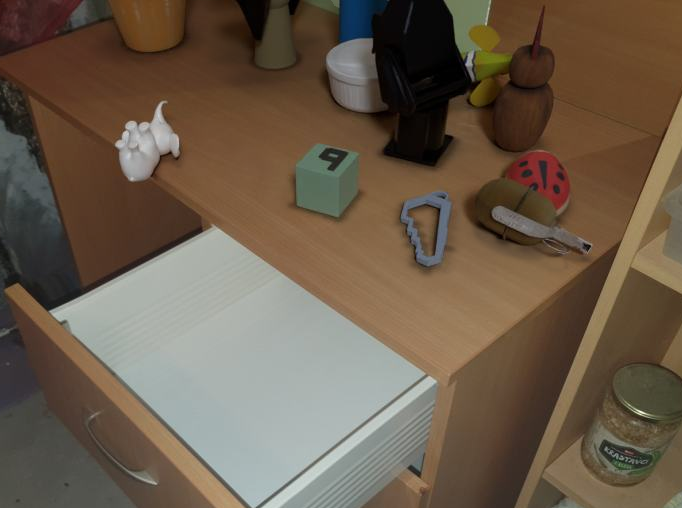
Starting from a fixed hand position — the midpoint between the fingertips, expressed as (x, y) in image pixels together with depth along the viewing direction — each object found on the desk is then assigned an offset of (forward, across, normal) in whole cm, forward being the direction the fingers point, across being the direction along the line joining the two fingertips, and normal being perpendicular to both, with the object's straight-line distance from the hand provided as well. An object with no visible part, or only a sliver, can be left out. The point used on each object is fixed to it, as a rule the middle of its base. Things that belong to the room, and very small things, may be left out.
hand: (274, 26), depth 100 cm
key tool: (+4, +30, +31) cm, 43 cm away
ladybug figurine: (+4, +18, +42) cm, 46 cm away
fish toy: (-1, +4, +27) cm, 27 cm away
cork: (+5, 0, 0) cm, 5 cm away
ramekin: (+4, +5, +17) cm, 18 cm away
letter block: (+4, +28, +22) cm, 36 cm away
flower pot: (+5, +2, -20) cm, 21 cm away
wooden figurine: (+5, +8, +37) cm, 38 cm away
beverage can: (+5, -5, +11) cm, 13 cm away
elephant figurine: (-2, +31, 0) cm, 31 cm away
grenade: (+1, +25, +37) cm, 45 cm away
